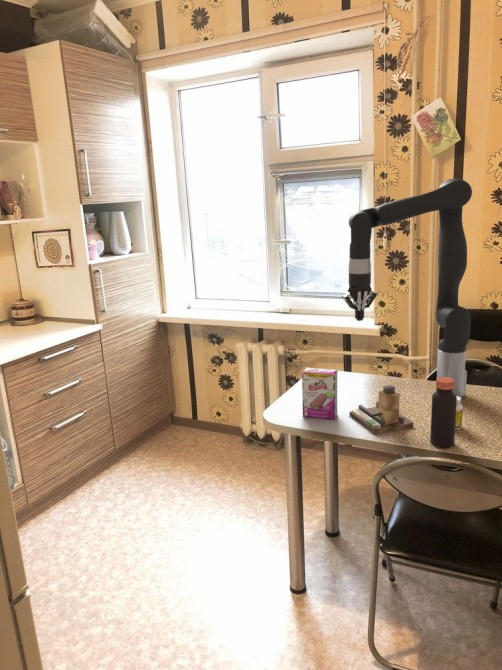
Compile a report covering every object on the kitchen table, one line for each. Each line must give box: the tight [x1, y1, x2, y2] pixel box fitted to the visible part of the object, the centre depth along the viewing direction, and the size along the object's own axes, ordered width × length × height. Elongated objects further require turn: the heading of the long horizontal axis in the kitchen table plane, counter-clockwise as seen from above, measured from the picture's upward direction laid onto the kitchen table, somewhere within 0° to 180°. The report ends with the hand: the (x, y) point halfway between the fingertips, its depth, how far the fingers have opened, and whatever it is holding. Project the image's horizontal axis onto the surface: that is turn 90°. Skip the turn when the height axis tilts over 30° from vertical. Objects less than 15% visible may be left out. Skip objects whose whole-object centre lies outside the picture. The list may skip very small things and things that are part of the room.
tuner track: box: [349, 400, 414, 436], centre depth 181 cm, size 14×16×4 cm
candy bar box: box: [301, 367, 338, 421], centre depth 185 cm, size 11×5×16 cm, turn 71°
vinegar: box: [429, 377, 457, 449], centre depth 162 cm, size 7×7×20 cm
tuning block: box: [370, 384, 401, 425], centre depth 175 cm, size 9×4×12 cm, turn 109°
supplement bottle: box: [455, 396, 464, 431], centre depth 174 cm, size 5×5×10 cm
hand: (359, 320), depth 194 cm, fingers closed
